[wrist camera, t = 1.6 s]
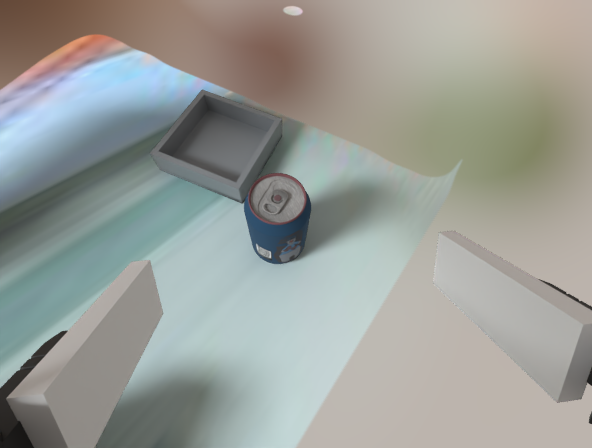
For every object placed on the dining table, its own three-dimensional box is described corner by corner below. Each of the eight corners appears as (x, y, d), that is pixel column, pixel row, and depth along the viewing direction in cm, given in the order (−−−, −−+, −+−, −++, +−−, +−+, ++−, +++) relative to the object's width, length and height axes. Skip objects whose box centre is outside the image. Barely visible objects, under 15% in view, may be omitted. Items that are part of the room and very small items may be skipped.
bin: (160, 169, 44) (149, 153, 40) (207, 108, 49) (202, 89, 46) (242, 203, 42) (238, 189, 38) (281, 136, 47) (281, 118, 44)
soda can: (270, 210, 42) (266, 157, 31) (313, 234, 40) (325, 187, 30) (242, 250, 39) (227, 207, 28) (287, 276, 38) (290, 242, 27)
